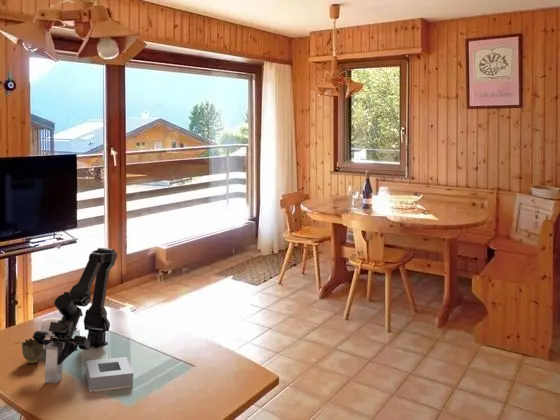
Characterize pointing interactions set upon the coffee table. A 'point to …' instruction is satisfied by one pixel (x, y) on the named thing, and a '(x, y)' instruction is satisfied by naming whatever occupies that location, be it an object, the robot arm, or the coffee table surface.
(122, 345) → the coffee table surface
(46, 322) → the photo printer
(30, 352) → the brown ornate lampshade
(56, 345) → the metal bar
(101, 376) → the square well
